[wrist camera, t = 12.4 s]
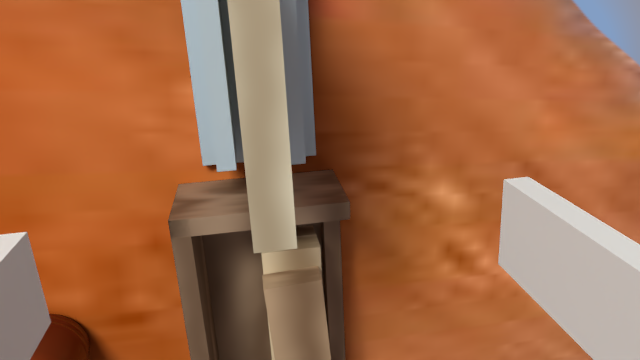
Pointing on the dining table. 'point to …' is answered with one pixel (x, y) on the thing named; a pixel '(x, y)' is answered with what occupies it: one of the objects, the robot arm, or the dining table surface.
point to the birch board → (263, 121)
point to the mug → (63, 341)
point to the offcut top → (297, 314)
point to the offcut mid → (293, 260)
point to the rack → (247, 264)
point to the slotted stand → (220, 85)
